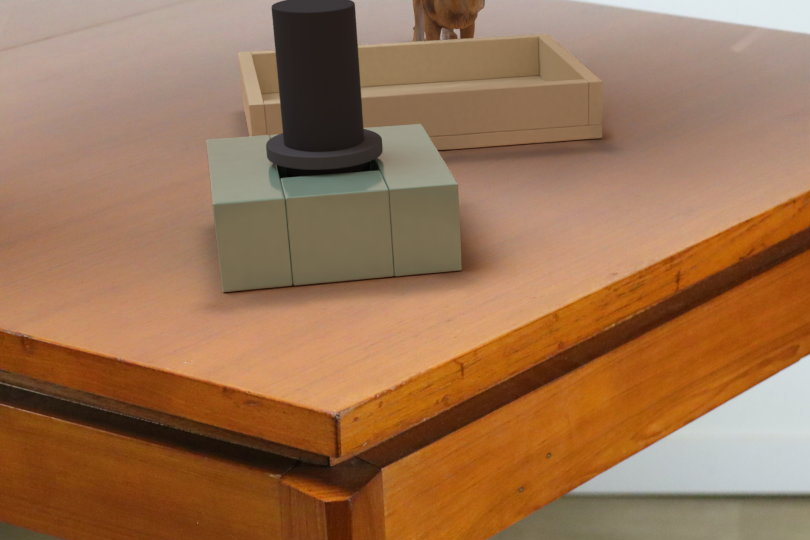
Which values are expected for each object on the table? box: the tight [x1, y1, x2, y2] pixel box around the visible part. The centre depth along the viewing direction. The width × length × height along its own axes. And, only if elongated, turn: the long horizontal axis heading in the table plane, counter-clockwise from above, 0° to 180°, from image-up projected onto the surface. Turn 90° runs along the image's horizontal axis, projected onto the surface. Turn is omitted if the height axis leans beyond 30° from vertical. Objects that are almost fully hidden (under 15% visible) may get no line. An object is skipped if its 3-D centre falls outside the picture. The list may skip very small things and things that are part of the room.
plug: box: [266, 0, 383, 178], centre depth 68 cm, size 5×5×11 cm
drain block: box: [205, 124, 463, 293], centre depth 70 cm, size 10×10×4 cm
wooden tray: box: [237, 33, 603, 151], centre depth 90 cm, size 20×14×3 cm
